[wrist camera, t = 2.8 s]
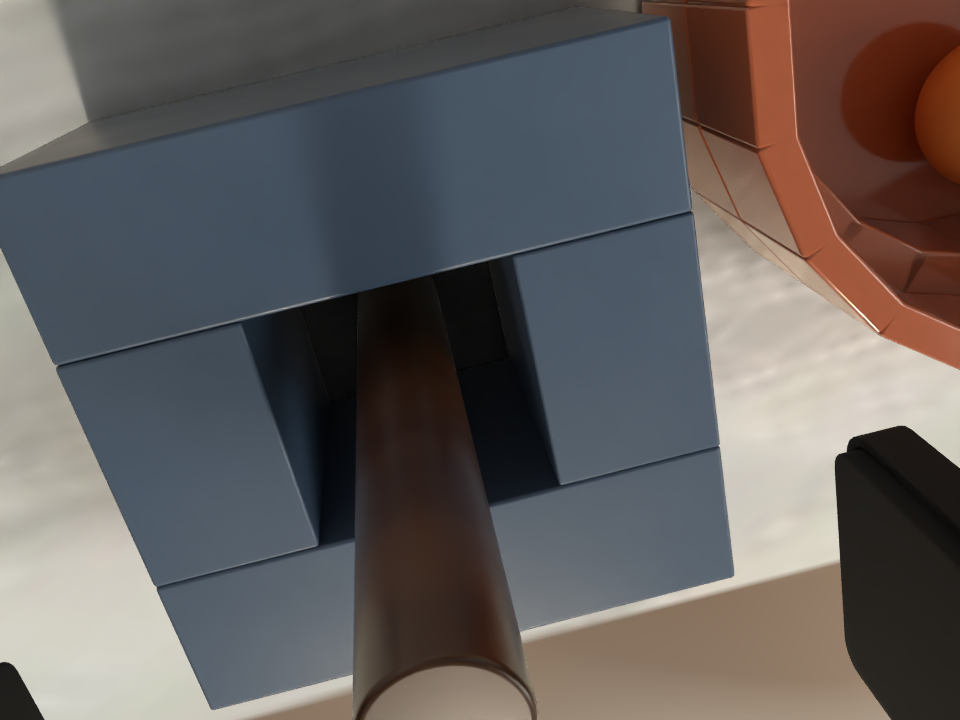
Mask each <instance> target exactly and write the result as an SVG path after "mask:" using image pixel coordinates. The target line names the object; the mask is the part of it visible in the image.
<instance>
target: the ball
mask: <svg viewBox="0 0 960 720" xmlns="http://www.w3.org/2000/svg"><path fill="white" fill-rule="evenodd" d="M915 131H916V136H917V140H918V143H919V146H920V149H921V151H922V152H923V154H924V156H925V157H926V159H927V160H928V161H929V163H930V164H931V165H932V167H933V168H935V169H936V170H937V171H938V172H939V173H940V174H941V175H943V176H944V177H946V178H947V179H949V180H951V181H953V182H955V183H957V184H959V185H960V46H958V47H957V48H955V49H954V50H953V51H952V52H950V53H949V54H948V55H947V56H946V57H944V58H943V59H942V60H941V61H940V62H939V63H938V65H937V66H936V67H935V68H934V69H933V71H932V72H931V73H930V75H929V76H928V78H927V80H926V81H925V83H924V85H923V87H922V90H921V92H920V94H919V98H918V101H917V105H916V110H915Z"/></svg>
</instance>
